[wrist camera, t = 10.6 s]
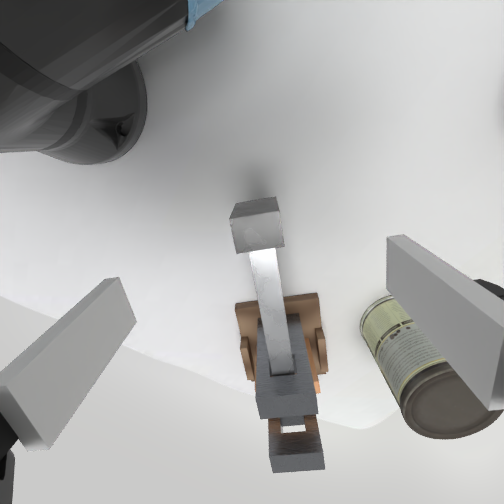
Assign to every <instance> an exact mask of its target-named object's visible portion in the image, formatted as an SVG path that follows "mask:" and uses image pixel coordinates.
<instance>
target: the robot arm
mask: <svg viewBox="0 0 504 504" xmlns="http://www.w3.org/2000/svg"><path fill="white" fill-rule="evenodd" d="M222 1H224V0H0V153H5V152H24V151H38V152H41V153H43V154H46V155H49V156H51V157H54V158H56V159H59V160H62V161H65V162H68V163H73V164H81V165H91V164H99V163H106V162H110V161H113V160H115V159H117V158H119V157H121V156H122V155H124V154H125V153H126V152H128V151H129V150H130V149H131V148H132V147H133V145H134V144H135V143H136V141H137V140H138V138H139V136H140V134H141V132H142V129H143V126H144V123H145V118H146V111H147V98H146V90H145V85H144V80H143V77H142V74H141V71H140V69H139V66H138V64H137V62H136V59H137V58H139V57H140V56H142V55H144V54H145V53H147V52H149V51H150V50H152V49H153V48H155V47H157V46H158V45H160V44H161V43H163V42H165V41H166V40H168V39H170V38H171V37H173V36H174V35H176V34H178V33H179V32H181V31H182V30H184V29H185V30H186V31H189V30H190V29H192V28H193V26H194V25H195V22H196V20H197V19H199V18H200V17H201V16H203V15H204V14H206V13H207V12H208V11H210V10H211V9H213V8H214V7H215V6H217V5H218V4H219V3H221V2H222ZM386 289H387V290H388V291H389V293H390V294H391V295H392V296H393V297H394V299H395V300H396V301H397V302H398V303H399V305H400V306H401V307H402V308H403V309H404V310H405V312H406V313H407V314H408V315H409V316H410V318H411V319H412V320H413V321H414V322H415V324H416V325H417V326H418V327H419V328H420V330H421V331H422V332H423V333H424V334H425V336H426V337H427V338H428V339H429V340H430V342H431V343H432V344H433V345H434V346H435V347H436V349H437V350H438V351H439V352H440V353H441V355H442V356H443V357H444V358H445V359H446V361H447V362H448V363H449V364H450V365H451V367H452V368H453V369H454V370H455V371H456V373H457V374H458V375H459V376H460V377H461V379H462V380H463V381H464V382H465V383H466V385H467V386H468V387H469V388H470V389H471V390H472V392H473V393H474V394H475V395H476V396H477V398H478V399H479V400H480V401H481V402H482V404H483V405H484V406H485V407H486V408H487V410H488V411H491V410H502V409H504V289H503V288H502V287H500V286H498V285H495V284H493V283H490V282H487V281H484V280H481V279H478V280H472V279H470V278H469V277H467V276H466V275H464V274H463V273H461V272H460V271H458V270H457V269H455V268H454V267H452V266H451V265H449V264H448V263H446V262H445V261H443V260H442V259H440V258H439V257H437V256H436V255H434V254H433V253H431V252H430V251H428V250H427V249H425V248H424V247H422V246H421V245H419V244H418V243H416V242H415V241H413V240H412V239H410V238H409V237H407V236H406V235H404V234H403V235H397V236H390V237H387V271H386ZM136 322H137V321H136V318H135V316H134V313H133V311H132V308H131V306H130V303H129V301H128V298H127V296H126V293H125V291H124V288H123V286H122V283H121V281H120V278H119V277H116V278H109V279H104V280H103V281H102V282H101V283H100V284H99V285H98V286H97V287H95V288H94V289H93V290H92V291H91V292H90V293H89V294H88V295H86V296H85V297H84V298H83V299H82V300H81V301H80V302H79V303H77V304H76V305H75V306H74V307H73V308H72V309H71V310H70V311H68V312H67V313H66V314H65V315H64V316H63V317H62V318H61V319H59V320H58V321H57V322H56V323H55V324H54V325H53V326H52V327H51V328H49V329H48V330H47V331H46V332H45V333H44V334H43V335H41V336H40V337H39V338H38V339H37V340H36V341H35V342H34V343H32V344H31V345H30V346H29V347H28V348H27V349H26V350H25V351H23V352H22V353H21V354H20V355H19V356H18V357H17V358H16V359H14V360H13V361H12V362H11V363H10V364H9V365H8V366H7V367H5V368H4V369H3V370H2V371H1V372H0V504H12V496H13V481H14V465H15V457H14V454H13V453H12V451H11V450H10V448H11V447H12V446H13V445H14V444H15V442H16V441H17V440H18V439H19V440H20V442H21V443H22V444H23V446H24V447H25V448H26V450H27V451H36V450H48V449H50V448H51V446H52V445H53V443H54V442H55V440H56V439H57V438H58V436H59V435H60V433H61V432H62V430H63V429H64V427H65V426H66V424H67V423H68V421H69V420H70V418H71V417H72V416H73V414H74V413H75V411H76V410H77V408H78V407H79V405H80V404H81V402H82V401H83V400H84V398H85V397H86V395H87V393H88V392H89V391H90V389H91V388H92V387H93V385H94V384H95V382H96V381H97V379H98V378H99V376H100V375H101V373H102V372H103V370H104V369H105V368H106V366H107V365H108V363H109V362H110V360H111V359H112V357H113V356H114V354H115V353H116V351H117V350H118V349H119V347H120V346H121V344H122V343H123V341H124V340H125V338H126V337H127V335H128V334H129V333H130V331H131V330H132V328H133V327H134V325H135V324H136Z"/></svg>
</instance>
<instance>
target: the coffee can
mask: <svg viewBox="0 0 504 504" xmlns="http://www.w3.org/2000/svg"><path fill="white" fill-rule="evenodd" d="M360 330H361V334H362V337H363V339H364V340H365V341H366V343H367V345H368V347H369V349H370V351H371V353H372V355H373V357H374V359H375V361H376V363H377V365H378V367H379V369H380V371H381V373H382V374H383V376H384V378H385V380H386V382H387V384H388V386H389V388H390V390H391V392H392V394H393V396H394V398H395V399H396V401H397V403H398V405H399V407H400V409H401V413H402V415H403V418H404V420H405V422H406V423H407V425H408V426H409V427H410V428H411V429H412V430H414V431H415V432H416V433H418V434H420V435H422V436H425V437H429V438H433V439H456V438H461V437H465V436H468V435H471V434H474V433H476V432H479V431H481V430H483V429H484V428H486V427H488V426H489V425H491V424H492V423H493V422H494V421H495V420H497V418H498V417H499V416H500V415H501V414H502V412H503V411H504V409H502V410H491V411H488V410H487V408H486V407H485V406H484V405H483V404H482V402H481V401H480V400H479V399H478V398H477V396H476V395H475V394H474V393H473V392H472V390H471V389H470V388H469V387H468V386H467V385H466V383H465V382H464V381H463V380H462V379H461V377H460V376H459V375H458V374H457V373H456V371H455V370H454V369H453V368H452V367H451V365H450V364H449V363H448V362H447V361H446V359H445V358H444V357H443V356H442V355H441V353H440V352H439V351H438V350H437V349H436V347H435V346H434V345H433V344H432V343H431V342H430V340H429V339H428V338H427V337H426V336H425V334H424V333H423V332H422V331H421V330H420V328H419V327H418V326H417V325H416V324H415V322H414V321H413V320H412V319H411V318H410V316H409V315H408V314H407V313H406V312H405V310H404V309H403V308H402V307H401V306H400V305H399V303H398V302H397V301H396V300H395V299H394V297H393V296H392V295H391V296H387V297H384V298H382V299H380V300H378V301H376V302H375V303H374V304H372V305H371V306H370V307H369V308H368V309H367V310H366V312H365V313H364V315H363V317H362V320H361V325H360Z"/></svg>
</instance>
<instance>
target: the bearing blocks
mask: <svg viewBox="0 0 504 504" xmlns="http://www.w3.org/2000/svg"><path fill="white" fill-rule="evenodd" d="M286 320H287V326H288V333H289V339H290V346H291V352H292V359H293V365H294V372H295V374H294V375H285V376H275V377H273V375H272V370H271V365H270V360H269V355H268V349H267V344H266V339H265V334H264V329H263V324H262V319H261V318H258V324H257V362H256V402H257V406H258V411H259V415H260V419H268V429H269V458H270V462H271V467H272V471H273V473H280V472H281V473H282V472H296V471H310V470H324V469H325V464H324V456H323V449H322V444H321V439H320V434H319V429H318V424H317V419H316V414H318V407H317V398H316V391H315V387H314V382H313V377H312V372H311V368H310V363H309V358H308V354H307V349H306V344H305V340H304V335H303V330H302V326H301V321H300V316H299V313H294V314H286ZM296 373H297V374H296ZM303 424H304V425H305V428H306V431H303V432H291V433H283V426H293V425H303Z"/></svg>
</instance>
